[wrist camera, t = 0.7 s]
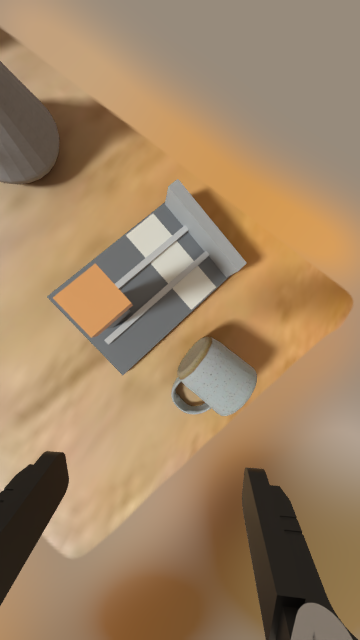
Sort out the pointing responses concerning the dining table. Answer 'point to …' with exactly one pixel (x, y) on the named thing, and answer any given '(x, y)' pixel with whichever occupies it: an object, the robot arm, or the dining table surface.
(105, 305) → the fader
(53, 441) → the dining table surface
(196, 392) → the ceramic mug
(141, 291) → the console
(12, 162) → the coffee pot
